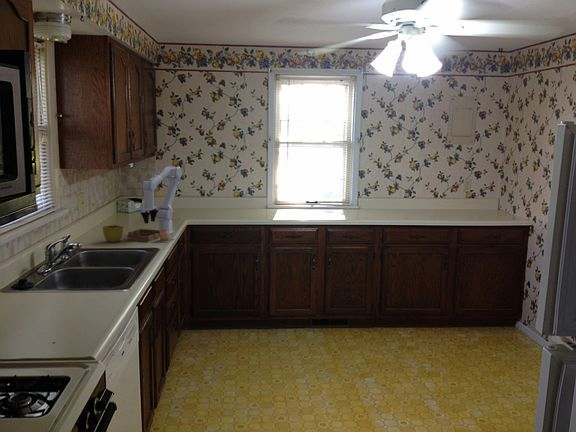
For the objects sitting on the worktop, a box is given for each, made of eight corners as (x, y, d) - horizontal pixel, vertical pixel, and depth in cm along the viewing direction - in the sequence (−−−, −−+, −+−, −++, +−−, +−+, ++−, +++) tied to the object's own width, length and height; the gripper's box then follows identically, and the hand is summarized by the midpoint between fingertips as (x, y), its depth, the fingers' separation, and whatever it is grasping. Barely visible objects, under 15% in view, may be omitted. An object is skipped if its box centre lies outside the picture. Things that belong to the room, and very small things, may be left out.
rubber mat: (163, 238, 349) (163, 238, 349) (175, 239, 346) (175, 239, 346) (153, 241, 337) (153, 241, 337) (165, 243, 335) (165, 242, 335)
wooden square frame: (140, 235, 355) (140, 228, 354) (160, 237, 351) (160, 230, 350) (127, 240, 341) (127, 232, 341) (148, 241, 337) (148, 234, 336)
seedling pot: (162, 239, 345) (162, 229, 344) (170, 239, 343) (169, 229, 342) (158, 240, 340) (158, 230, 339) (166, 241, 339) (165, 231, 338)
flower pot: (115, 239, 344) (115, 224, 342) (124, 241, 338) (123, 226, 337) (102, 241, 337) (102, 226, 335) (111, 243, 331) (110, 228, 330)
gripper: (149, 198, 355) (150, 220, 357) (136, 201, 341) (137, 223, 343) (159, 199, 352) (160, 220, 355) (147, 202, 339) (147, 224, 341)
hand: (149, 222), depth 349 cm, fingers open, 7 cm apart
